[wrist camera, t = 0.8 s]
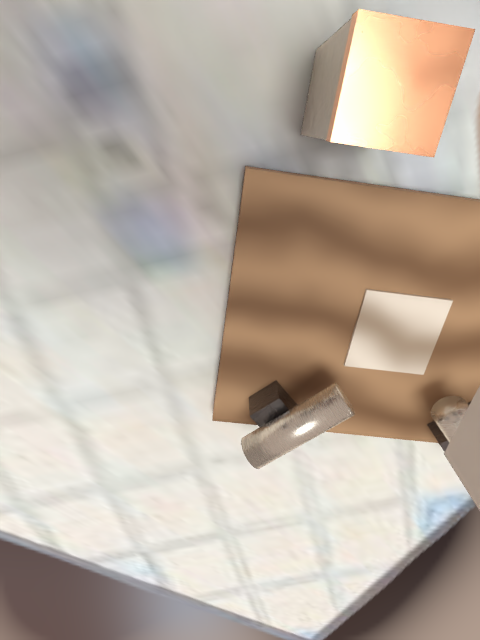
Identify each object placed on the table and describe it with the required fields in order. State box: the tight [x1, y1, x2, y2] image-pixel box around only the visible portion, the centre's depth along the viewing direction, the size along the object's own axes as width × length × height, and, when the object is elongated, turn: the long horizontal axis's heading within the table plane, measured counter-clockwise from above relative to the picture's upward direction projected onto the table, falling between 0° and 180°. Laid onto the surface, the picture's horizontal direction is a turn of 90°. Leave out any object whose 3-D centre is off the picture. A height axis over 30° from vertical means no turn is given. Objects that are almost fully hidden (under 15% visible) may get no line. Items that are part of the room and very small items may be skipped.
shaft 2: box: [427, 396, 471, 451], centre depth 34 cm, size 9×4×5 cm, turn 37°
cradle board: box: [212, 166, 480, 443], centre depth 34 cm, size 22×28×2 cm
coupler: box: [301, 9, 475, 157], centre depth 22 cm, size 5×5×10 cm
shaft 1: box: [241, 380, 355, 469], centre depth 33 cm, size 9×4×5 cm, turn 127°
